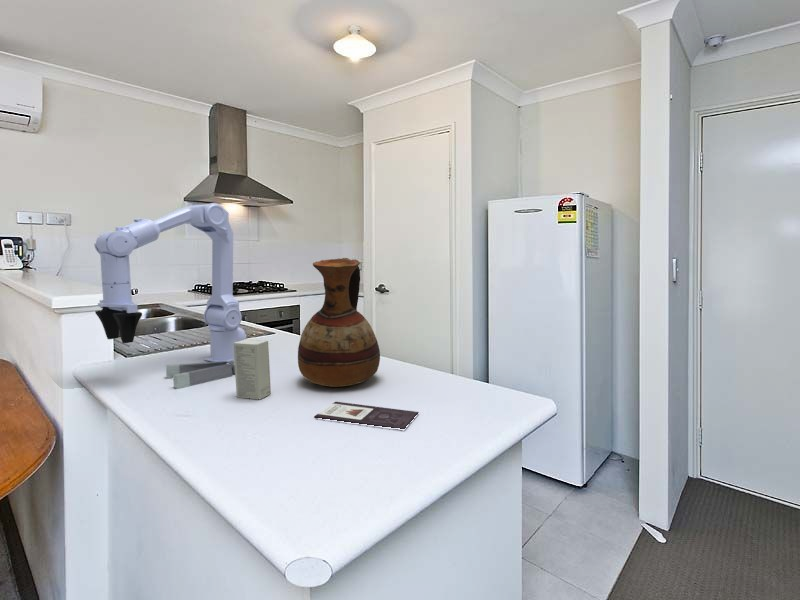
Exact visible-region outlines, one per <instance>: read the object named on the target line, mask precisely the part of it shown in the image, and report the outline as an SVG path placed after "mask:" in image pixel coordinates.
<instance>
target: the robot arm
mask: <svg viewBox="0 0 800 600" xmlns="http://www.w3.org/2000/svg"><path fill="white" fill-rule="evenodd" d="M229 215H230V214H229V211H227V210H226V209H225V208H224V206H222V205H221V204H220V203H217V202H212V203H206V204H192V205H190V206H184V207H181V208H178V209H177V210H175V211H172V212H170V213H167V214H165V215H163V216H161V217H159V218H156V219H155V220H152V219H149V218H142V217H136V218H134V219H133V222H132V223H131V222H130V223H129V224H127V225H124V226H121V225H118V226H115V227H114V228H115V230H114V231H105V232H103V233H102V232H101V234H99V235H98V237H97V238H96V240H95V243H94V245H93V246H94V248H95V250H96V252H97V253H98V254H99V255H100V272H101V274H100V275H101V287H102V299H100V300H99V303H97V307H99V309H101V310H99V309H98V310H95V312H94V313H95V315H96V316H97V317H98V319H99V320H100V322H101V325H102V327H103V330H104V334H105V337H106V339H107V340H113V339H118V338H119V335H120V340H121V342H122V344H130V343H133V342H134V339H135V335H136V330H137V326H138V324H139V321H140V320H141V318H142V317H143V312H141V311H139V310H138V303H135V302H134V301H133V300H132V285H131V284H132V283H131V282H132V281H131V267H130V266H131V265H130V255H131V254H132V252H133V251H135V250H136V249H139V248H142V247H144V246H146V245H148V244H150V243H152V242H155V241H157V240H158V239H159V236H160V233H163V232H166V231H168V230H171V229H174V228H177V227H179V226H182V225H184V224H185V225H191V226H192V227H194V228H195V229H198V230H199V231H201V232H203V233H204V234H205V235H207V237H209V238H210V239H211V244H212V246H211V247H212V251H211V252H212V253H211V254H212V255H211V257H212V258H211V263H212V264H211V283H212V284H211V289H212V290H211V296H210V297H209V298H208V300H207V301H206V308H205V311H204V313H203V320H204V322H205V324H206V325H208V329H209V342H210V343H209V346H210V356H209V357H204V359H203V360H204V361H206V362H218V361H227V363H228V362H229V361H232V360H234V344H233V343H234V342H238V341H241V340H244V339H247V335H246V332H245V330H244V329H243V328H242V327H240V325H241V323H242V317H243V316H242V315H243V314H242V312H241V310H240V303H239V301H238V300H237V298H235V296H234V294H233V293H234V292H233V291H234V290H233V288H234V287H233V286H234V283H233V282H234V281H233V279H234V274H233V272H234V232H233V230H232V226H231V224H230V222H229Z"/></svg>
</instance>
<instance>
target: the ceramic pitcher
mask: <svg viewBox="0 0 800 600" xmlns="http://www.w3.org/2000/svg"><path fill="white" fill-rule="evenodd" d="M360 263H361V262H360V261H359V260H357V259H354V258H352V259H350V258H347V257H342V258H330V259H321V260H319V261H315V262H312V266H313V267H314V268H315V269H316V270H317V271H318V272H319V273H320V274H321V276H322V279H323V288H324V301H323V305H322V307H321V308H320V309H319V310H318V311H317V312H316V313H314V314H313V315H312V316H311V318H310V319H309V320H308V322H307V323H306V325H305V326H304V329H303V330H302V333H301V335H300V338H299V343H298V347H297V348H298V349H297V364H298V365H297V366H298V369H299V372H300V375H302V376H303V377H304V378H305V379H306V380H308V381H309V382H311V383H313V384H316V385H319V386H327V387H334V388H337V387H347V386H352V385H356V384H360V383H363V382H365V381H367V380H369V379H370V378H372V377H373V376H374V375H375V374H377V372H378V369H379V366H380V362H381V352H380V347H379V343H378V340H377V337H376V334H375V332H374V330H373V328H372V326H371V324H370V322H369V321H368V320H367V319H366V317H365V316H364V315H363V314H362V313H360V312H359V311H358V309H357V308H358V302H359V295H360V287H361V286H360V285H361V269H360V266H359V265H360Z"/></svg>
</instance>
